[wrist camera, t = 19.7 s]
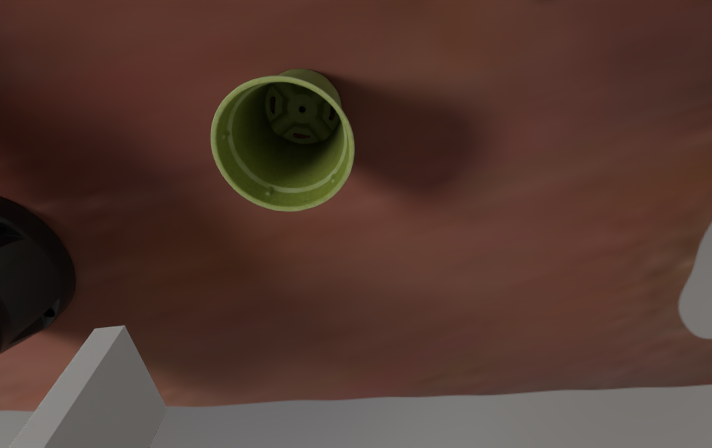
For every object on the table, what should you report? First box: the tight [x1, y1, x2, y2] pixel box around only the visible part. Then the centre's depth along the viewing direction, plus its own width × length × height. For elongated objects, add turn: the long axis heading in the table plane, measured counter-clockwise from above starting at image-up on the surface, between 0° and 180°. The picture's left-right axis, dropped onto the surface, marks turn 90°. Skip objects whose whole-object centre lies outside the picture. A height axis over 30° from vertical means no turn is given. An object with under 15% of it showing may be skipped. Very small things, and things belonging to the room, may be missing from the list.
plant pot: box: [211, 69, 355, 211], centre depth 40 cm, size 9×9×9 cm
